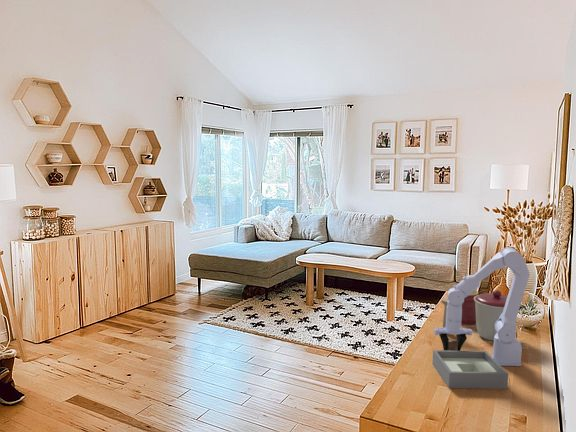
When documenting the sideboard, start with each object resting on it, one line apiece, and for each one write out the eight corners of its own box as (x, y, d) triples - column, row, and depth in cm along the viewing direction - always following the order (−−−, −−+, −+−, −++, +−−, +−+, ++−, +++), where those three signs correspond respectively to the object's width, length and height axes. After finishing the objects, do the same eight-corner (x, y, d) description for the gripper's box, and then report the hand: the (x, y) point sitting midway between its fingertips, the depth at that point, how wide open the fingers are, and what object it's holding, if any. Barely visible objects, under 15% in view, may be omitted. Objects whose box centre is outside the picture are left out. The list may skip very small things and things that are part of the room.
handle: (452, 336, 203) (454, 303, 201) (437, 332, 207) (439, 300, 205) (455, 333, 207) (458, 300, 205) (441, 329, 211) (443, 297, 209)
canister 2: (524, 346, 194) (528, 297, 191) (480, 345, 195) (484, 296, 192) (505, 329, 212) (508, 284, 209) (465, 328, 212) (468, 284, 210)
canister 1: (443, 317, 228) (446, 281, 225) (464, 313, 233) (466, 279, 230) (463, 326, 216) (466, 289, 213) (484, 322, 221) (487, 286, 218)
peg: (454, 353, 187) (455, 338, 186) (458, 357, 182) (459, 343, 181) (443, 352, 187) (444, 338, 186) (447, 357, 182) (448, 343, 181)
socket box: (485, 364, 177) (486, 350, 176) (507, 388, 159) (508, 373, 158) (432, 364, 177) (433, 350, 176) (448, 387, 159) (449, 372, 158)
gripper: (468, 315, 186) (466, 347, 188) (432, 315, 186) (430, 347, 188) (475, 321, 179) (472, 355, 181) (437, 321, 179) (435, 354, 181)
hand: (451, 351), depth 184 cm, fingers closed on peg, 4 cm apart
